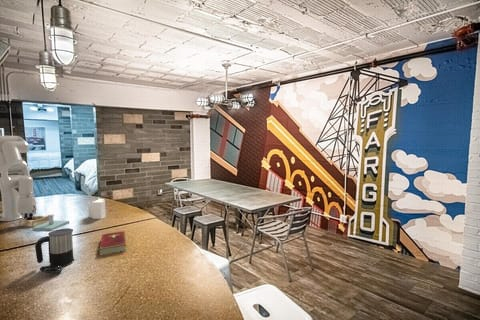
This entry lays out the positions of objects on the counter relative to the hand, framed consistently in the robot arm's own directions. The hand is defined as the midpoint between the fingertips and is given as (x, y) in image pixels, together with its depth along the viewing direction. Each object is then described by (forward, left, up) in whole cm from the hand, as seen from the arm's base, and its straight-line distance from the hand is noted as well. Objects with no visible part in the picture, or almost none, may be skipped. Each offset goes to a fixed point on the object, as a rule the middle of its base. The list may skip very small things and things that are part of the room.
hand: (28, 222), depth 169 cm
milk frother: (+68, -51, -1) cm, 85 cm away
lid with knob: (+20, -3, -1) cm, 20 cm away
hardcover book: (+78, -27, -2) cm, 83 cm away
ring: (+5, 0, -1) cm, 5 cm away
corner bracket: (+36, +20, -1) cm, 41 cm away
